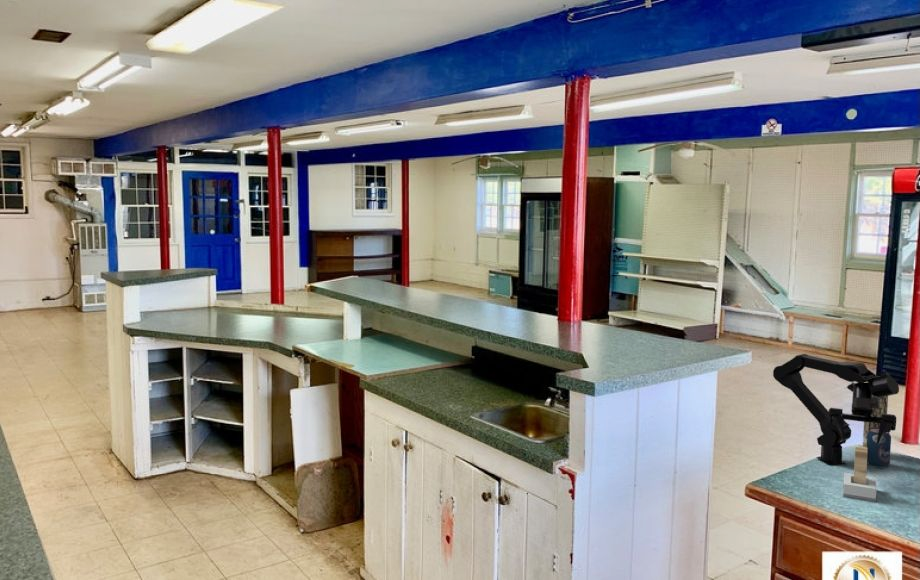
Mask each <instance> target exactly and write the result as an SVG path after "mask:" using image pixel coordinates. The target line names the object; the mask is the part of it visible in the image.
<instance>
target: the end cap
mask: <svg viewBox="0 0 920 580" xmlns="http://www.w3.org/2000/svg"><path fill="white" fill-rule="evenodd" d="M876 479H877V477H875V476H868V475H866V485H862V484H856V483H853V481H854V473H850V472H849V473H848V472H843V490H842V497H843V496H844V498H849V497H850V499H856V500H861V501H868V502H873V503H876V502H877V500H876V499H877V481H876Z"/></svg>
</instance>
